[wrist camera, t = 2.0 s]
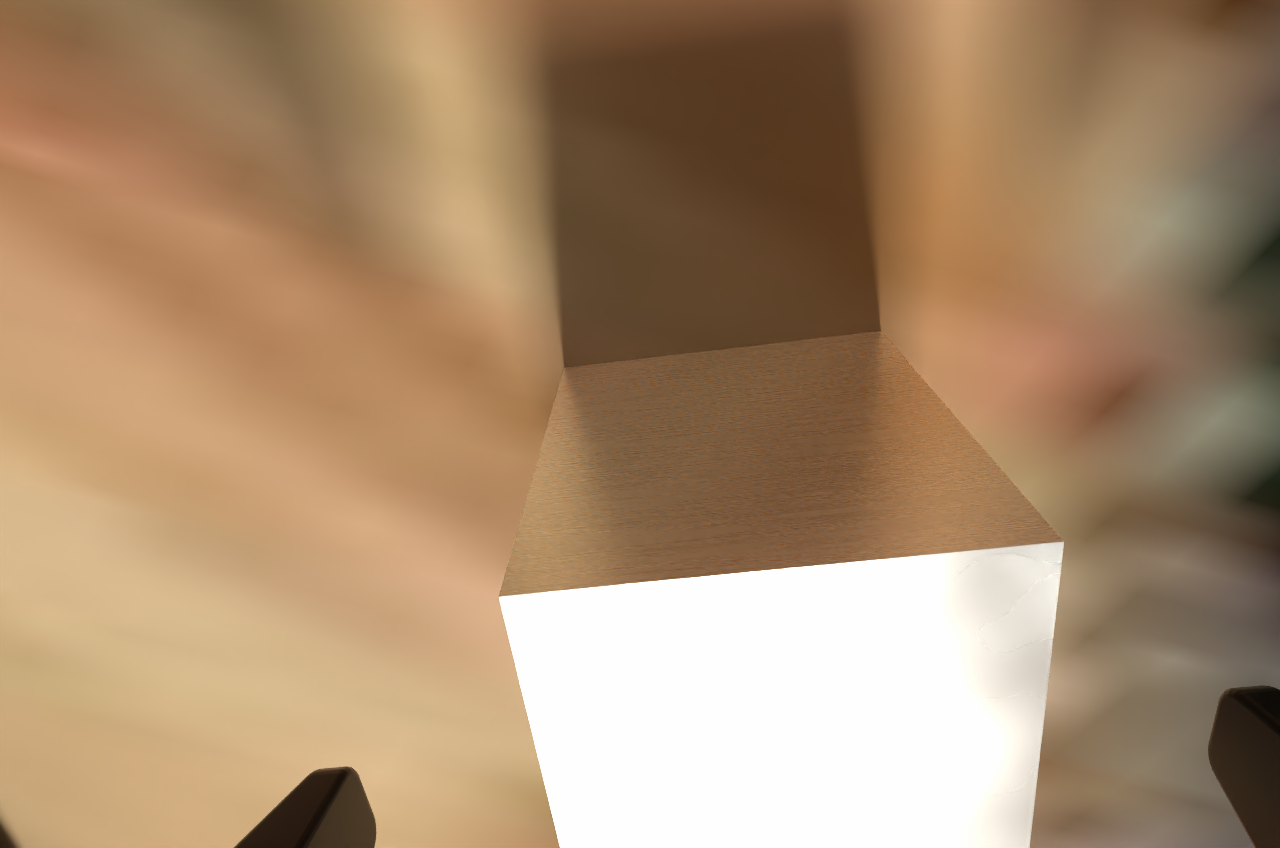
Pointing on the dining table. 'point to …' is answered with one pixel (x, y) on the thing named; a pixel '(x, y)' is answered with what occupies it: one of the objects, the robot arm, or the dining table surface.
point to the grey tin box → (779, 608)
